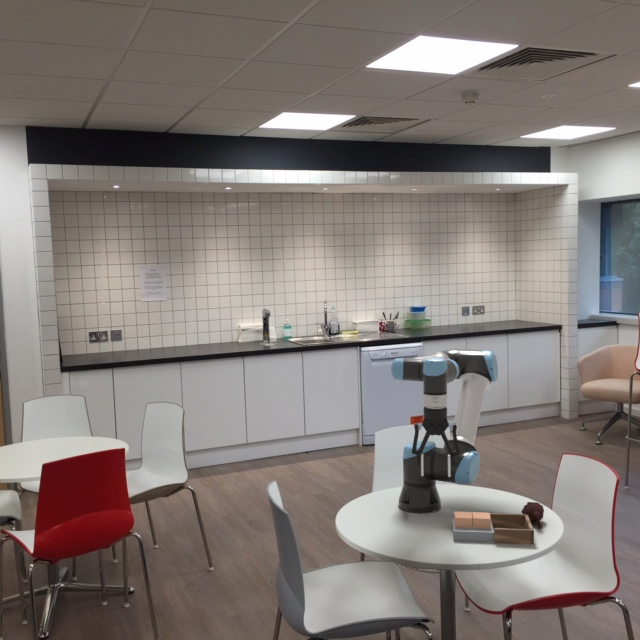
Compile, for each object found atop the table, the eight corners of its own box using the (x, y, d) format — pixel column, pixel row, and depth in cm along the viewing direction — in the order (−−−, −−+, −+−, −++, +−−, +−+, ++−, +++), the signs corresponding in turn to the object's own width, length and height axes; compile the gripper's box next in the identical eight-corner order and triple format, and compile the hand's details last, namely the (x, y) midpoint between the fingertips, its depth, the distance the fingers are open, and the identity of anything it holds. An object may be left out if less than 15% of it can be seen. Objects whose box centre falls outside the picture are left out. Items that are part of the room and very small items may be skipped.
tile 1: (454, 520, 232) (454, 511, 231) (471, 521, 231) (471, 512, 231) (454, 527, 226) (454, 517, 226) (472, 527, 225) (472, 518, 225)
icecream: (515, 495, 245) (525, 515, 230) (536, 490, 244) (547, 509, 229) (519, 513, 246) (529, 534, 231) (540, 508, 245) (552, 529, 230)
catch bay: (490, 526, 234) (490, 513, 234) (527, 527, 233) (527, 514, 232) (494, 543, 221) (494, 529, 220) (533, 544, 219) (533, 530, 218)
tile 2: (472, 521, 231) (472, 512, 231) (489, 522, 230) (489, 512, 230) (473, 527, 225) (473, 518, 225) (490, 528, 225) (490, 518, 224)
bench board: (452, 525, 235) (452, 517, 235) (490, 527, 233) (490, 518, 233) (453, 540, 223) (453, 531, 223) (494, 541, 222) (494, 532, 221)
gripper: (402, 408, 224) (403, 478, 226) (468, 409, 221) (469, 479, 223) (403, 403, 232) (403, 470, 234) (467, 404, 228) (467, 472, 231)
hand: (435, 475), depth 228 cm, fingers open, 8 cm apart
